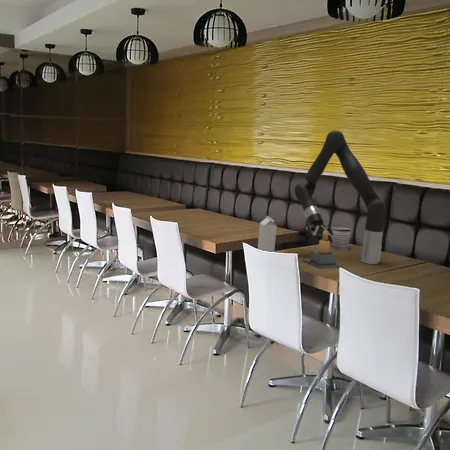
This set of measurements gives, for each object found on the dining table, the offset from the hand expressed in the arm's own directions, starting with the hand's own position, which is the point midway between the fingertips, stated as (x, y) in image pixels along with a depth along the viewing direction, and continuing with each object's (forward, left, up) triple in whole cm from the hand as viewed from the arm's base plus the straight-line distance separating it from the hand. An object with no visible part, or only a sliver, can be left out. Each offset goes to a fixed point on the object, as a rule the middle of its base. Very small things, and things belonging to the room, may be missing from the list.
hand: (323, 243), depth 265 cm
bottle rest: (0, 0, -11) cm, 11 cm away
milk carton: (+9, -32, -11) cm, 35 cm away
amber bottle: (0, 0, -10) cm, 10 cm away
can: (-41, -22, -11) cm, 48 cm away
